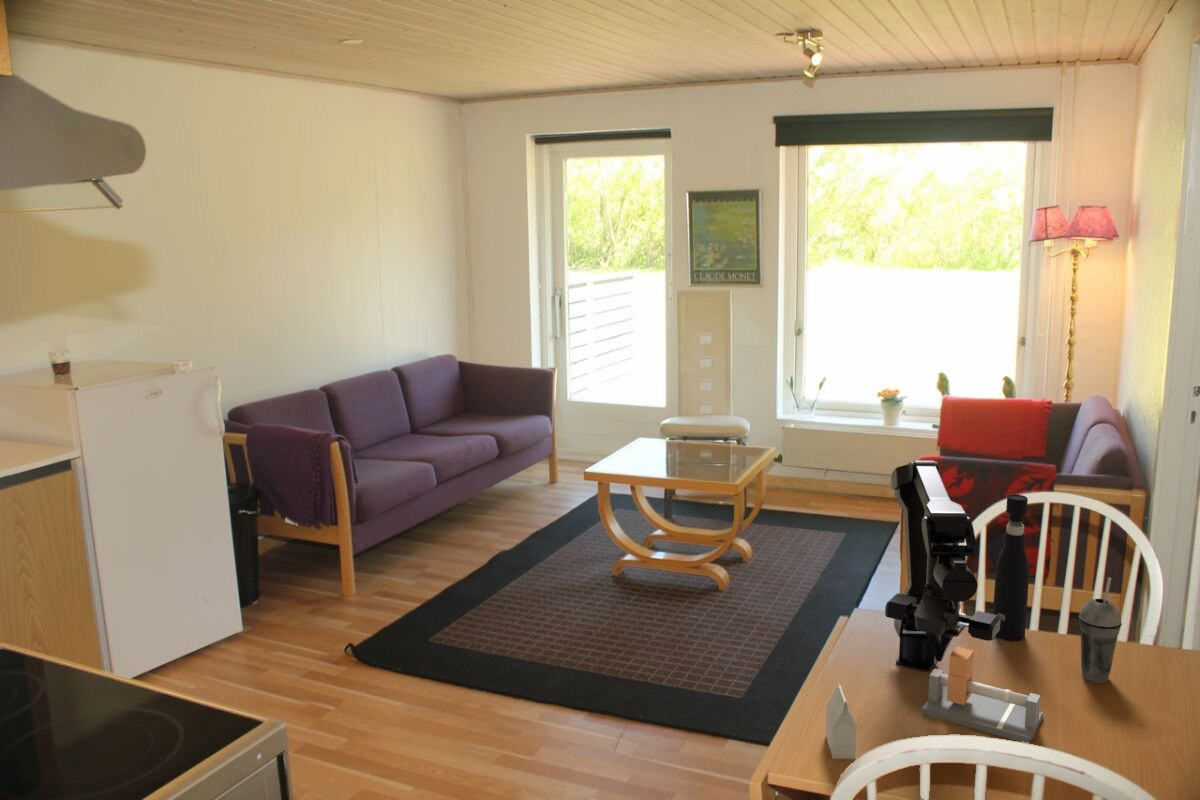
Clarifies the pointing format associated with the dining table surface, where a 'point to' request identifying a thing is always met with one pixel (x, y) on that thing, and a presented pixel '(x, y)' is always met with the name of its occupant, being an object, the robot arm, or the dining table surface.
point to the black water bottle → (1012, 575)
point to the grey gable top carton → (840, 727)
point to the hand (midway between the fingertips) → (939, 660)
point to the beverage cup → (1098, 637)
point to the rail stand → (985, 708)
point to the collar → (959, 675)
